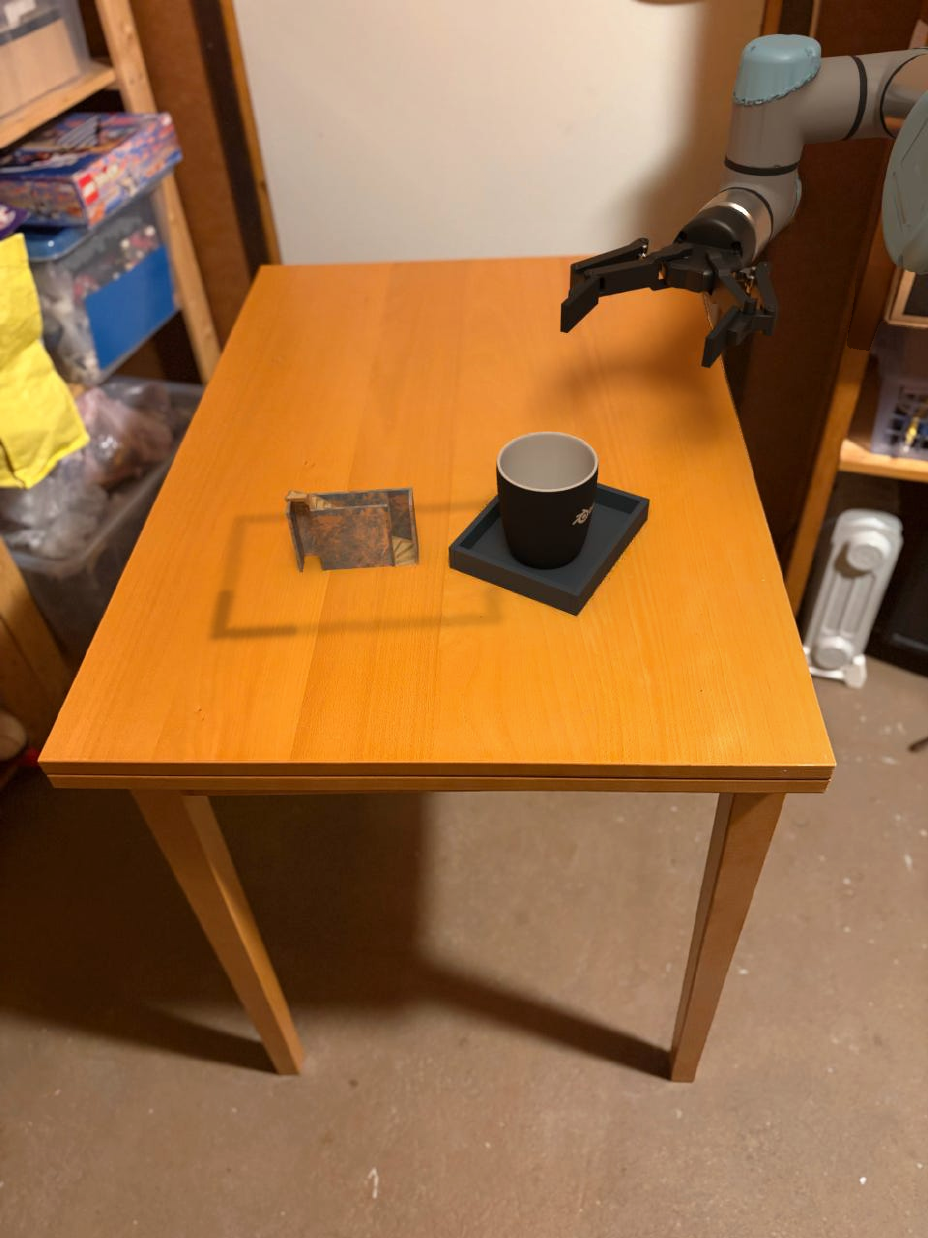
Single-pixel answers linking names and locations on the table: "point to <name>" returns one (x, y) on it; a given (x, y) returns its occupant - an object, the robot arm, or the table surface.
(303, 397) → the table surface
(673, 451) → the table surface
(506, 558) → the tray
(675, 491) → the table surface
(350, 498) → the architectural model on board
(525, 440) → the mug
